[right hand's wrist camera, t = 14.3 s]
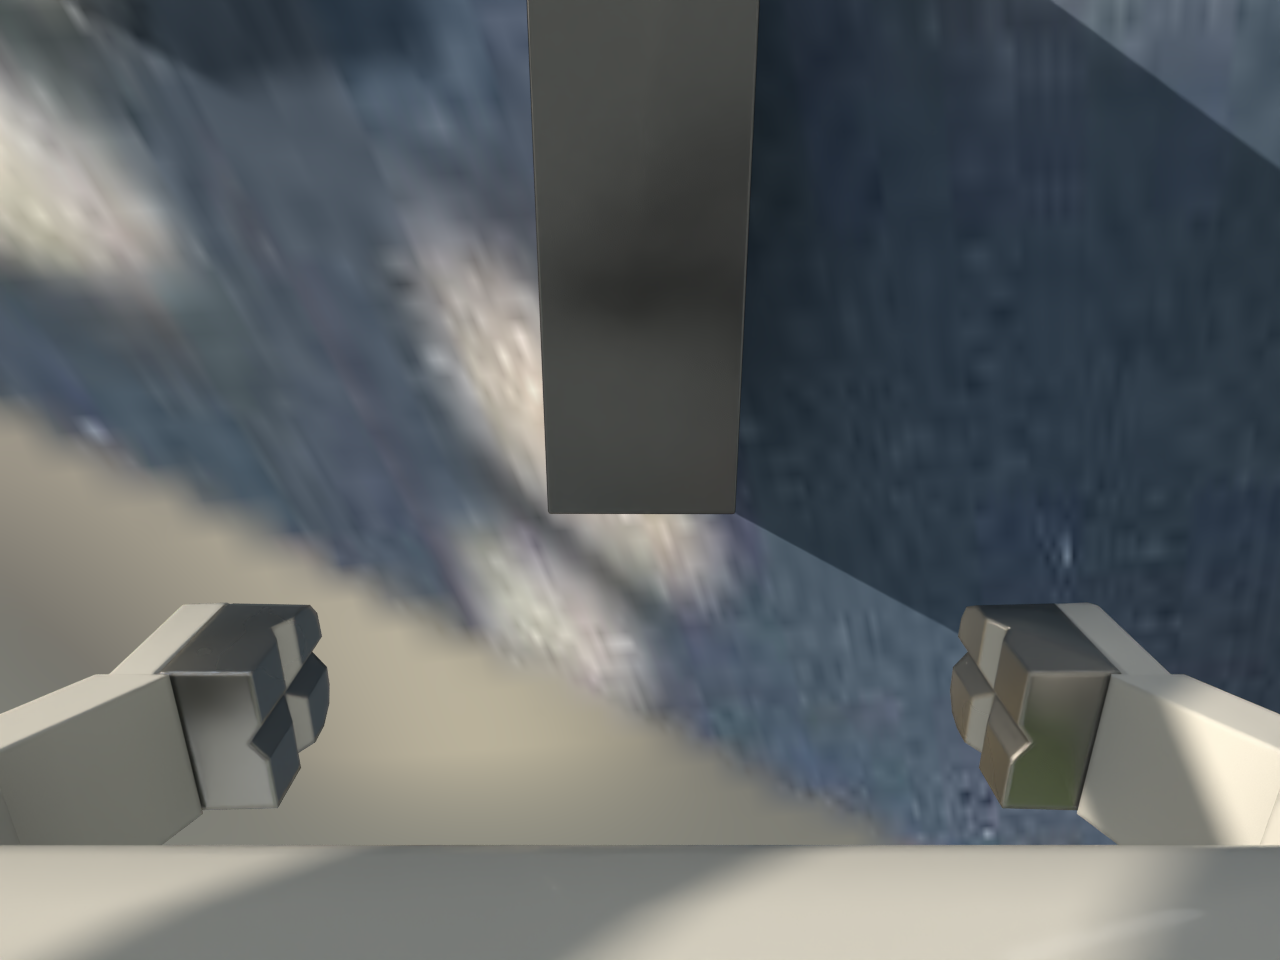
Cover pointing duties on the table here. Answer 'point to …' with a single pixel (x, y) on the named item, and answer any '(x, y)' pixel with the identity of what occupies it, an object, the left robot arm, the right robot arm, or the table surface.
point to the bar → (642, 247)
